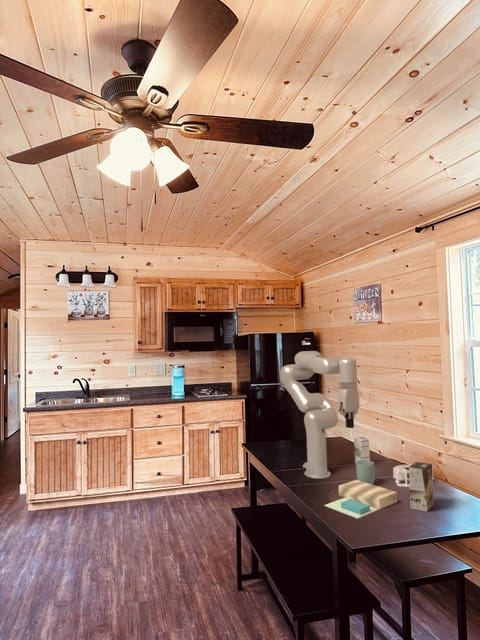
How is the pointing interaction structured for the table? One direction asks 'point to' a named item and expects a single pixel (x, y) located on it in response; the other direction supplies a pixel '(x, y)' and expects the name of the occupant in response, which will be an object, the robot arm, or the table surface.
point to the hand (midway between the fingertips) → (349, 427)
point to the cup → (365, 471)
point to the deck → (368, 494)
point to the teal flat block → (355, 506)
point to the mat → (337, 506)
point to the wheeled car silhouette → (402, 474)
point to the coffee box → (421, 486)
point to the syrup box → (361, 449)
